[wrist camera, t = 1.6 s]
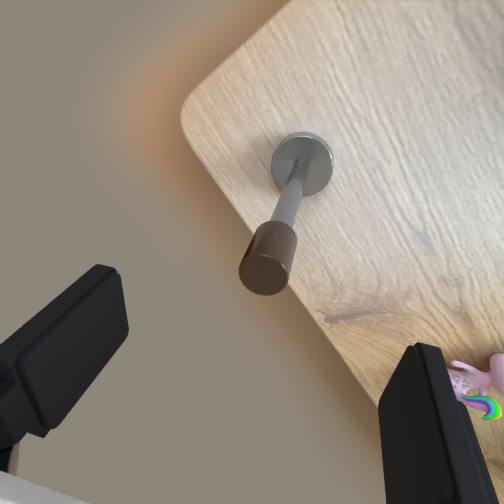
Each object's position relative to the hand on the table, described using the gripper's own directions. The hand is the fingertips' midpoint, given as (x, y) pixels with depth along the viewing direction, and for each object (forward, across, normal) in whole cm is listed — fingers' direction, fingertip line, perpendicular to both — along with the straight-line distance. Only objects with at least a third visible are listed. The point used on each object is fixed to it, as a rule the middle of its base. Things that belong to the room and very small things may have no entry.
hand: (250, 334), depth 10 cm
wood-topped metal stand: (+18, 0, 0) cm, 18 cm away
